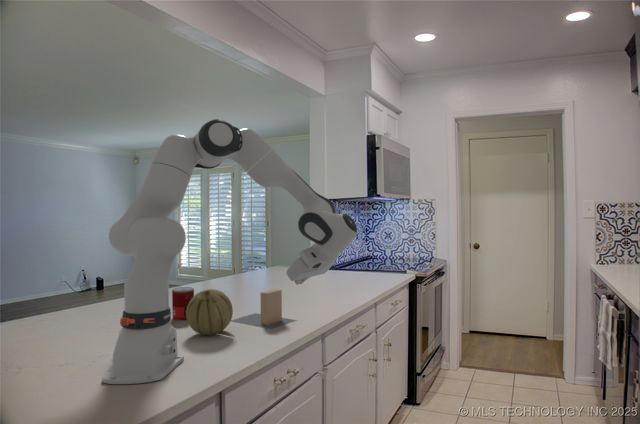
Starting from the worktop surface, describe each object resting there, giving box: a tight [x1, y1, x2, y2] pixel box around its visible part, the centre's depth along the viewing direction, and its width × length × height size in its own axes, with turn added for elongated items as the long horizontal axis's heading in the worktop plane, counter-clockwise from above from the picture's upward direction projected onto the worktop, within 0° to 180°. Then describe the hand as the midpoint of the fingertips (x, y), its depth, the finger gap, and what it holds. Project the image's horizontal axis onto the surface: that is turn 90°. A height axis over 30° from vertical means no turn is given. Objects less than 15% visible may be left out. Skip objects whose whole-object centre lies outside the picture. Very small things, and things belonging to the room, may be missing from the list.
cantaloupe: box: [186, 289, 234, 336], centre depth 145 cm, size 15×15×15 cm
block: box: [260, 288, 283, 325], centre depth 158 cm, size 3×8×11 cm, turn 146°
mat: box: [230, 312, 297, 330], centre depth 161 cm, size 20×14×1 cm
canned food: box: [171, 286, 195, 321], centre depth 168 cm, size 8×8×11 cm
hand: (298, 282), depth 152 cm, fingers closed
